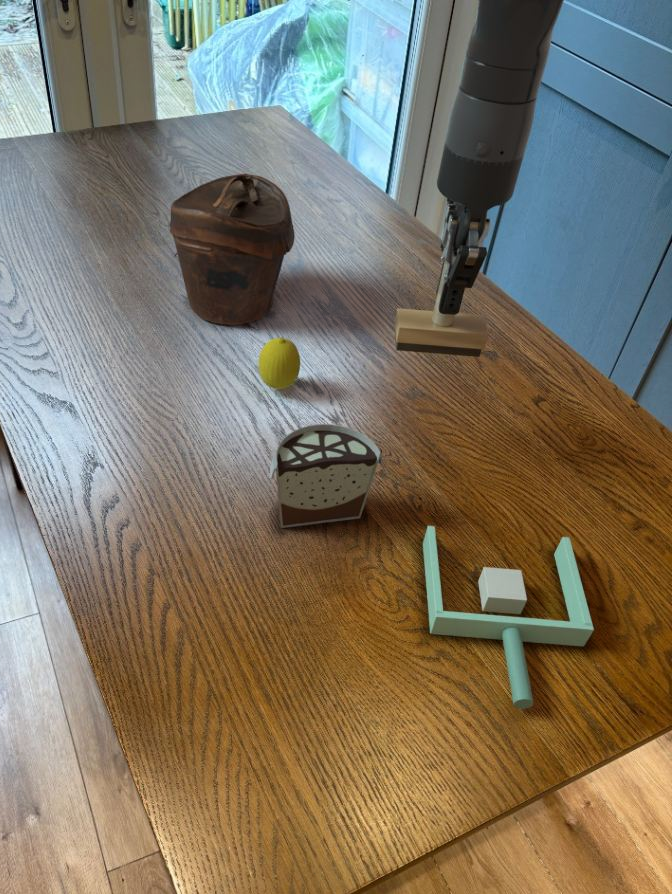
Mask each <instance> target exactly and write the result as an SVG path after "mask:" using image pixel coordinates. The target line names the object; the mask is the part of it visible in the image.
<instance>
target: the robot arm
mask: <svg viewBox="0 0 672 894" xmlns="http://www.w3.org/2000/svg"><path fill="white" fill-rule="evenodd" d="M564 1H565V0H478V2H477V3H478V4H477V10H476V16H475V20H474V22H473V25H472V28H471V32H470V34H469V38H468V42H467V44H466V45H467V46H466V50H465V55H464V59H463V63H462V69H461V74H460V79H459V85H458V89H457V92H456V95H455V98H454V102H453V104H452V107H451V111H450V115H449V119H448V125H447V129H446V135H445V140H444V145H443V148H442V149H443V150H442V155H441V159H440V163H439V170H438V174H437V179H436V186H437V187H436V188H437V189H438V191H439V192H440V194H441V195H442V196H443V197H444V198H446V209H445V213H444V215H445V217H444V222H443V231H442V235H441V243H440V251H441V252H442V255H441V256H440V263H441V264H440V265H441V269H440V273H439V278H438V282H437V288H436V292H435V294H436V296H437V294H438V289H439V285H440V281H441V276H442V272H443V267H444V263H445V261H447V262H448V264H447V268H446V273H445V275H444V280H445V281H444V285H443V289H442V294H441V298H440V302H439V312H440V313H441V314H449V315H456V314H458V313H460V309H461V305H462V302H463V298H464V294H465V291H466V289H473V286H474V285H475V282H476V279H477V277H478V275H479V273H480V271H481V269H482V267H483V264H484V262H485V260H486V257H487V256H488V250H487V248H488V247H486V246H483V245H484V241H485V238H486V237H487V236H488V235H489V230H490V225H491V218H490V217H488V211H490V210H491V209H493V208H494V207H497V206H498V207H500V206H502V205H504V204H506V203H508V202H509V201H510V200H511V199H512V197H513V195H514V193H515V189H516V185H517V182H518V178H519V175H520V171H521V167H522V164H523V160H524V156H525V153H526V149H527V145H528V142H529V138H530V134H531V131H532V127H533V122H534V117H535V110H536V103H537V99H538V95H539V91H540V87H541V84H542V80H543V76H544V74H545V69H546V67H547V62H548V58H549V54H550V49H551V44H552V39H553V33H554V28H555V26H556V24H557V21H558V19H559V15H560V12H561V10H562V7H563V4H564Z"/></svg>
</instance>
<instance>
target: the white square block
mask: <svg viewBox="0 0 672 894" xmlns="http://www.w3.org/2000/svg"><path fill="white" fill-rule="evenodd" d="M477 583H478V589H479V597H480V603H481V604H480V605H481V610H482V612H487V613H498V614H499V613H500V614H501V613H502V614H512V615H521V614H522V612H523V610H524V609H525V606H526V604H527V602H528V597H527V592H526V588H525V587H526V586H525V583H524V578H523V572H522V570H521V569H513V568H500V567H490V566H489V567H488V566H483V568H482V570H481V574H480V576H479V578H478V581H477Z"/></svg>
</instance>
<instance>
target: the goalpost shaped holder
mask: <svg viewBox="0 0 672 894" xmlns="http://www.w3.org/2000/svg"><path fill="white" fill-rule="evenodd" d="M422 550H423V551H422V552H423V562H424V574H425V587H426V598H427V610H428V622H429V633H430V635H439V636H440V635H441V636H452V637H464V638H476V639H489V640H499V641H500V640H501V641H502V645H503V649H504V650H503V651H504V655H505V662H506V668H507V674H508V681H509V686H510V692H511V698H512V705H513V707H514V708H516V709H519V710H520V709H521V710H525V709H529V708H531V707H532V706H533V705H534V698H533V692H532V687H531V681H530V676H529V671H528V665H527V660H526V659H527V658H526V655H525V649H524V643H523V642H525V643H536V644H548V645H561V646H572V647H573V646H574V647H585V645H586V644H587V642H588V641H589V639H590V637H591V635H592V634H593V632H594V631H595V628H594V625H593V621H592V617H591V614H590V610H589V606H588V602H587V598H586V595H585V591H584V588H583V583H582V580H581V576H580V571H579V568H578V564H577V560H576V557H575V553H574V549H573V545H572V542H571V538H570V537H569V536H562V537H561V539H560V541H559V544H558V545H557V547H556V549H555V551H554V555H553V556H554V560H555V564H556V568H557V573H558V577H559V580H560V586H561V590H562V592H563V593H562V594H563V597H564V601H565V606H566V610H567V614H568V619H569V621H568V620H556V619H545V618H544V619H543V618H533V617H521V616H509V615H497V614H496V615H495V614H485V613H484V614H483V613H471V612H461V611H460V612H459V611H448V610H444V604H443V595H442V585H441V583H442V582H441V574H440V573H441V572H440V565H439V555H438V545H437V534H436V526H434V525H427V528H426V531H425V535H424V538H423V541H422Z"/></svg>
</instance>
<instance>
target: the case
mask: <svg viewBox="0 0 672 894" xmlns="http://www.w3.org/2000/svg"><path fill="white" fill-rule="evenodd" d="M169 233H170V234H171V235H172V238H173V241H174V245H175V251H176V253H175V254H174V256H173V257H174V258H176V256H177V259H178V263H179V266H180V270H181V275H182V280H183V282H184V288H185V292H186V296H187V300H188V304H189V307H190V309H191V310H192V312H193V313H194V314H195V315H196V316H198V317H199V318H201V319H203V320H204V321H207V322H210V323H214V324H218V325H230V326H231V325H233V326H234V325H235V326H236V325H243V324H249V323H252V322H254V321H257V320H259V319H261V318H262V317H264V316H265V315H266V314H268V313H269V312H270V311H271V310H272V307H273V302H274V301H273V300H274V295H275V293H276V288H277V285H278V280H279V277H280V273H281V271H282V265H283V262H284V258H285V256H286V255H287V253H290V252H291V250H292V248H293V246H294V244H295V238H296V235H295V229H294V224H293V220H292V213H291V207H290V204H289V200H288V198H287V195H285V192H284V191H283V190H282V189H281V188H280V187H279V186H278V185H277V184H275V183H274V182H272V181H270V180H269V179H267V178H265V177H264V176H260V175H257V174H256V175H255V174H249V173H238V174H232V175H231V174H230V175H226V176H225V175H224V176H222V177H218V178H216V179H213V180H211V181H208V182H204V183H203V184H201V185H198V186H197V187H195V188H193V189H191V190H190V191H188V192H186V193H184V194H182V195H181V196H180V197H178V198H177V199H175V200H174V201H173V202H172V203H171V206H170V220H169Z"/></svg>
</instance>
